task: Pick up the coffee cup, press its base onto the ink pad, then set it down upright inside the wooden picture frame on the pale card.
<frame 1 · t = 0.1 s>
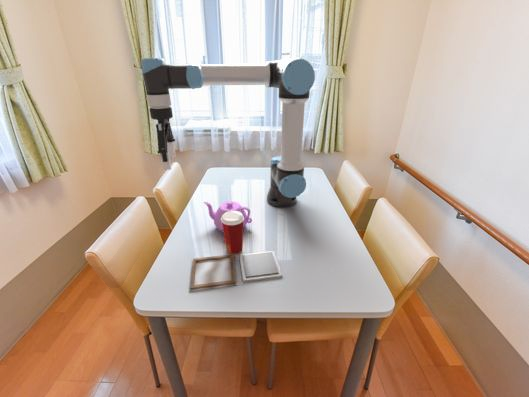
hand: (170, 163, 104), 28 cm above the table, fingers open, 13 cm apart
ink pad: (259, 266, 92), on the table
wooden picture frame: (213, 271, 90), on the table
coffee cup: (234, 249, 101), on the table
teapot: (229, 227, 115), on the table
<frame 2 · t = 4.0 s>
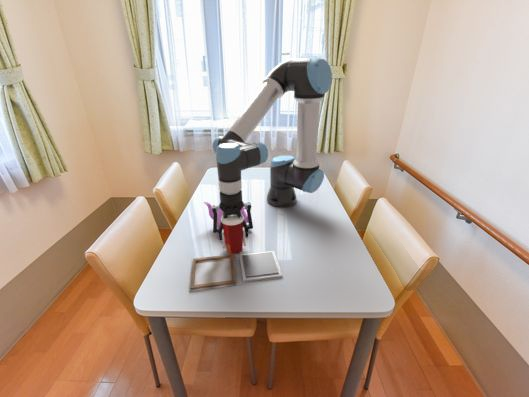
hand: (234, 244, 100), 2 cm above the table, fingers closed on coffee cup, 7 cm apart
coffee cup: (234, 249, 101), on the table, touching gripper
everything else where it was.
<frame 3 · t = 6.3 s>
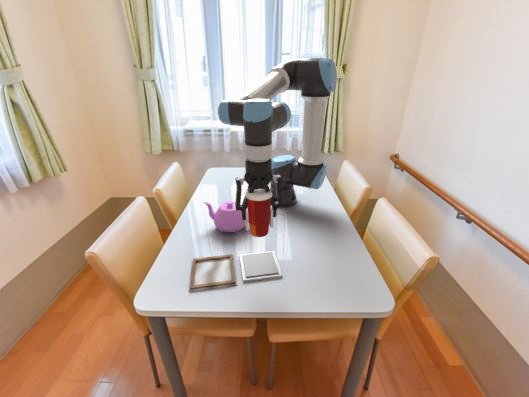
hand: (259, 226, 85), 17 cm above the table, fingers closed on coffee cup, 7 cm apart
coffee cup: (259, 232, 86), point 14 cm above the table, touching gripper
everything else where it was.
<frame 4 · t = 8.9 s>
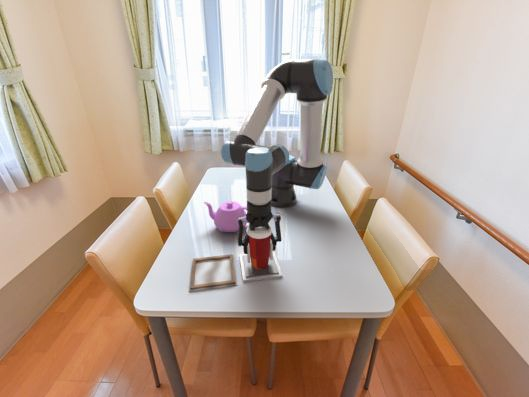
hand: (259, 258, 91), 3 cm above the table, fingers closed on coffee cup, 7 cm apart
coffee cup: (259, 263, 92), point 1 cm above the table, touching gripper, ink pad
everything else where it was.
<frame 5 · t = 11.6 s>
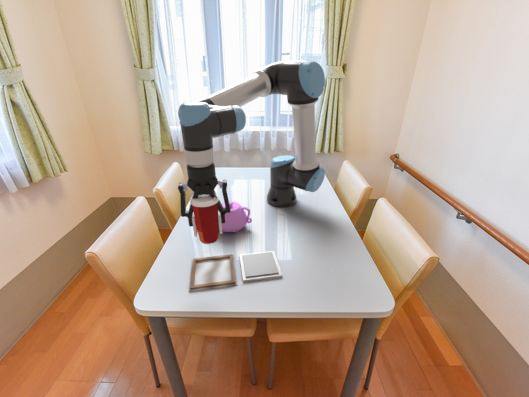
hand: (208, 232, 83), 16 cm above the table, fingers closed on coffee cup, 7 cm apart
coffee cup: (209, 238, 84), point 14 cm above the table, touching gripper
everything else where it was.
when the fingers open (3 cm above the table, at t = 14.1 s): coffee cup drops 1 cm, resting on wooden picture frame.
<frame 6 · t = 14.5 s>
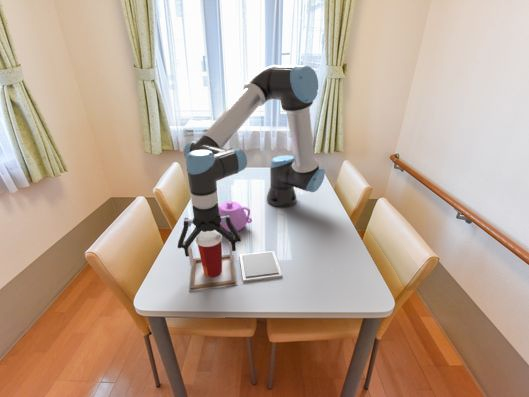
hand: (212, 260, 88), 5 cm above the table, fingers open, 12 cm apart
coffee cup: (213, 271, 90), resting on wooden picture frame
everything else where it was.
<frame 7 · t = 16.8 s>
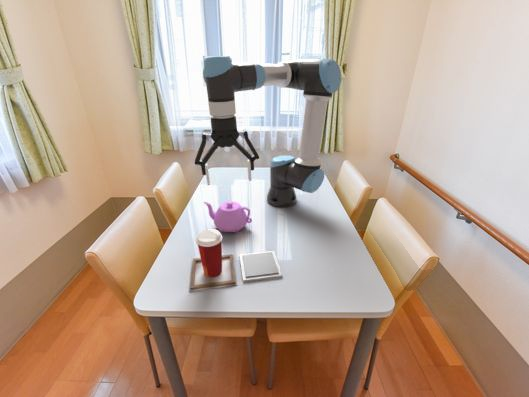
hand: (229, 181, 88), 28 cm above the table, fingers open, 13 cm apart
nothing on the table moved.
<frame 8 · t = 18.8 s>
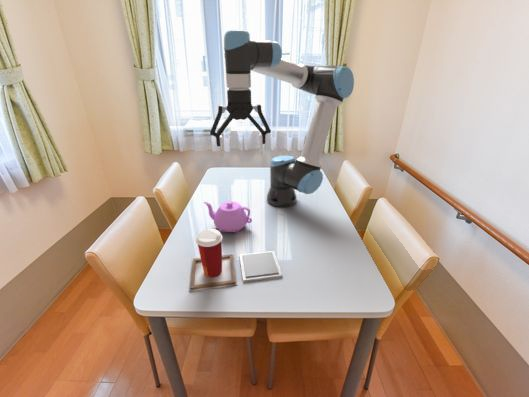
hand: (241, 154, 93), 35 cm above the table, fingers open, 13 cm apart
nothing on the table moved.
at the end: coffee cup inside the target area on the wooden picture frame (0.1 cm from its centre), point 0.0 cm above the wooden picture frame's base; coffee cup tilted 0°; the gripper is holding nothing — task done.
